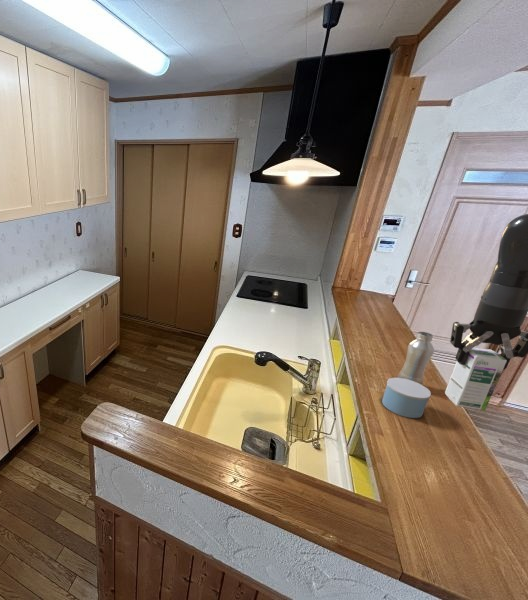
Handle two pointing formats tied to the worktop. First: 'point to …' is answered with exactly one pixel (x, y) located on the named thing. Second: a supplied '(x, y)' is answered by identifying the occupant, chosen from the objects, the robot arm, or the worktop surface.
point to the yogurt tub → (405, 397)
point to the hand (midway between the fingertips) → (478, 366)
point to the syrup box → (475, 379)
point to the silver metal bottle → (417, 358)
